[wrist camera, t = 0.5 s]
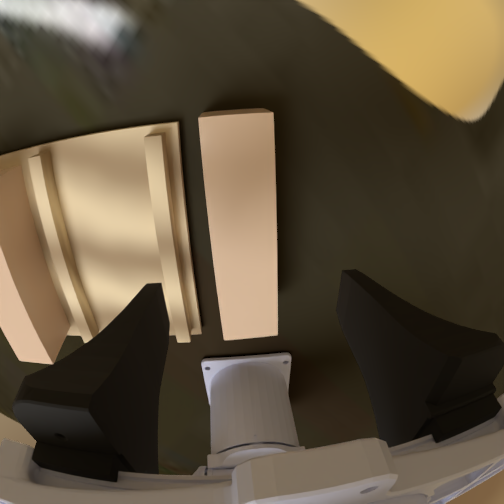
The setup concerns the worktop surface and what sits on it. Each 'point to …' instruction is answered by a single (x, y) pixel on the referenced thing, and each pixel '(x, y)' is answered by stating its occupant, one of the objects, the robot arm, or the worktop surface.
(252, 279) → the clay bar
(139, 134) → the rack
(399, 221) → the worktop surface
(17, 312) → the clay bar
